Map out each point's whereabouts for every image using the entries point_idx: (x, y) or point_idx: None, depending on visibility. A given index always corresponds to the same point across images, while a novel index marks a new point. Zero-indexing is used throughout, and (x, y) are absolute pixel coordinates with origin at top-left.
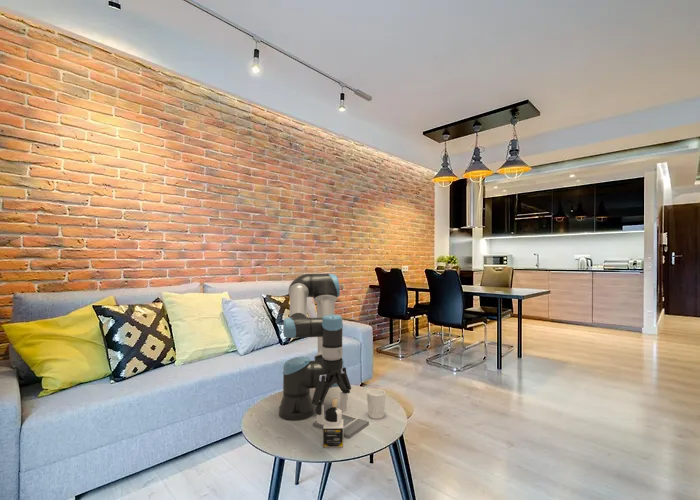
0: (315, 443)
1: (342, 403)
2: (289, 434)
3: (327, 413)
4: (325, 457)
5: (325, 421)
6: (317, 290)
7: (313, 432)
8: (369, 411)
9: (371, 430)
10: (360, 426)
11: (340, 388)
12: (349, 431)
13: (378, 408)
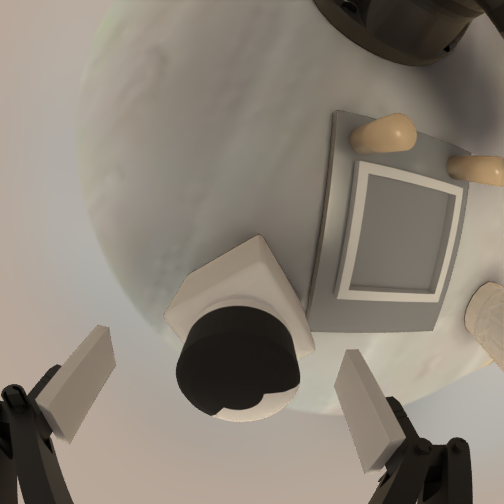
0: (196, 226)
1: (355, 396)
2: (201, 71)
3: (178, 369)
4: (142, 316)
5: (199, 314)
6: None
7: (278, 153)
8: (484, 304)
9: (391, 353)
10: (392, 328)
11: (389, 484)
12: (339, 316)
13: (484, 346)
